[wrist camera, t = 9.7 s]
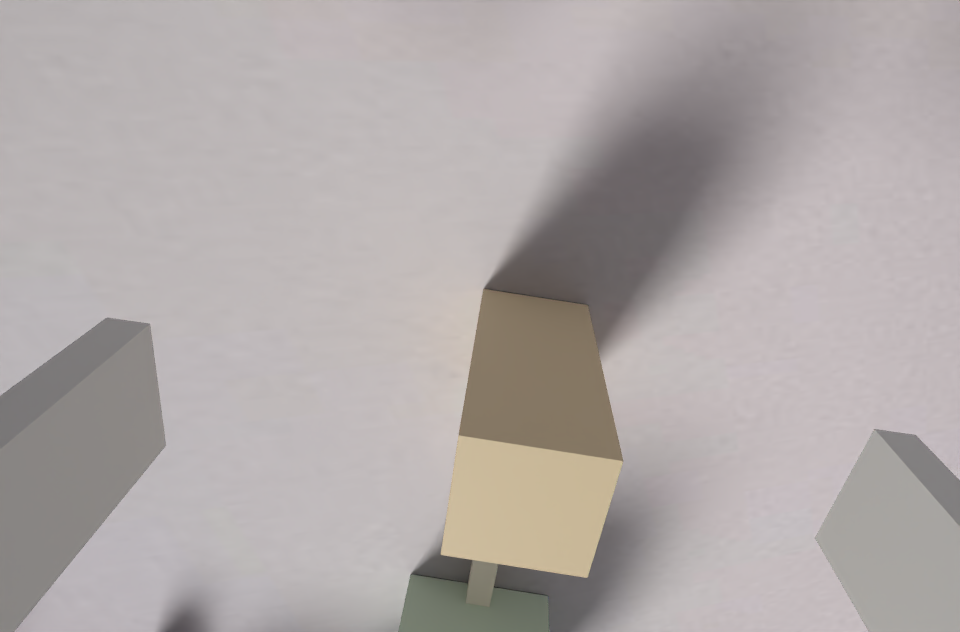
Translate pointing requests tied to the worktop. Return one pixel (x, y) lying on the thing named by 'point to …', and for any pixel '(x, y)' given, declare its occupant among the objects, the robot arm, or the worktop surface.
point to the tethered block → (523, 466)
